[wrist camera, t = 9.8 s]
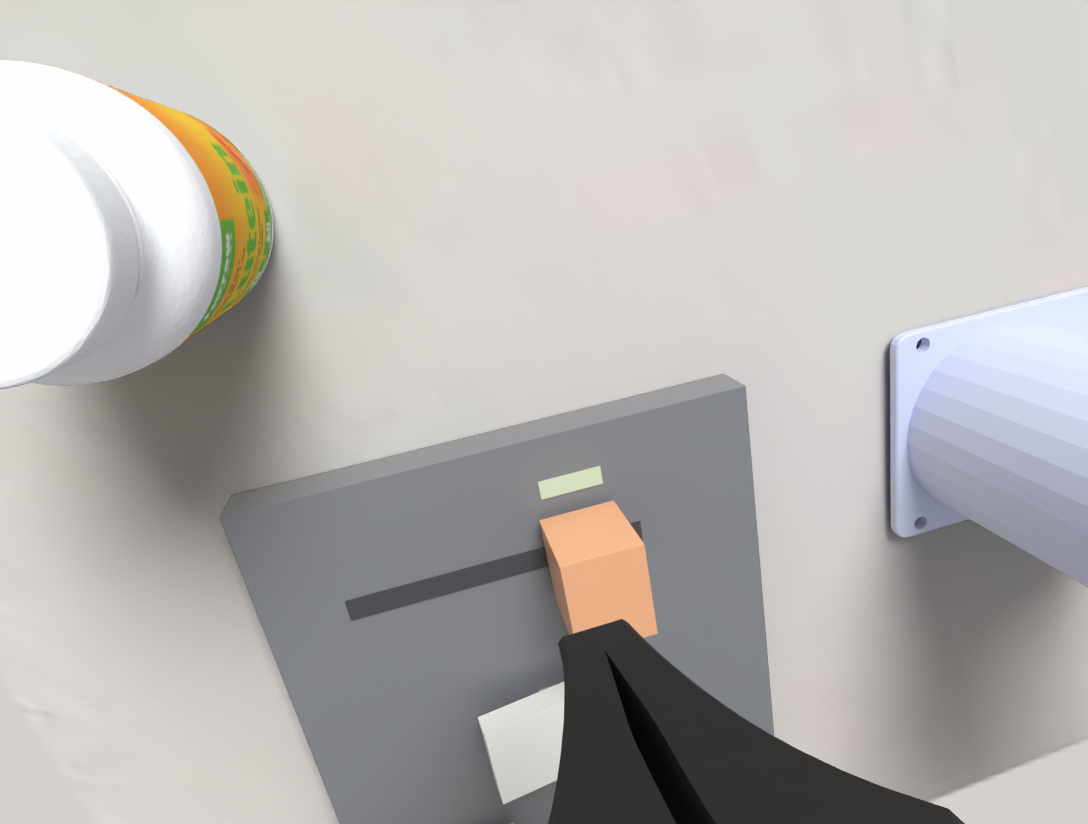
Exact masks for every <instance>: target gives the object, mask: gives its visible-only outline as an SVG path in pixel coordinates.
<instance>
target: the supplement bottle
mask: <svg viewBox="0 0 1088 824" xmlns="http://www.w3.org/2000/svg"><path fill="white" fill-rule="evenodd" d="M273 238H274V223H273V213H272V208H271V203H270V200H269V197H268V193H267V191H266V189H265V186H264V184H263V182H262V180H261V178H260V176H259V174H258V173H257V171H256V169H255V168H254V166H253V165H252V163H251V162H250V161H249V159H248V158H247V157H246V156H245V154H244V153H243V152H242V151H241V150H240V149H239V148H238V147H237V146H236V145H235V144H234V143H233V142H232V141H231V140H230V139H229V138H227V137H226V136H225V135H223V134H222V133H221V132H219V131H218V130H216V129H215V128H213V127H212V126H210V125H208V124H207V123H205V122H203V121H201V120H199V119H197V118H195V117H193V116H191V115H188V114H186V113H183V112H180V111H178V110H175V109H172V108H169V107H166V106H164V105H161V104H158V103H155V102H153V101H150V100H147V99H144V98H141V97H139V96H136V95H133V94H131V93H128V92H125V91H123V90H120V89H117V88H114V87H112V86H110V85H107V84H104V83H102V82H99V81H96V80H93V79H91V78H88V77H85V76H82V75H79V74H76V73H72V72H69V71H66V70H63V69H59V68H56V67H51V66H46V65H41V64H34V63H28V62H21V61H0V389H7V388H11V387H16V386H20V385H24V384H28V383H37V384H46V385H83V384H92V383H98V382H104V381H108V380H112V379H116V378H119V377H122V376H125V375H128V374H130V373H133V372H135V371H138V370H140V369H142V368H144V367H146V366H148V365H150V364H152V363H154V362H156V361H158V360H160V359H161V358H163V357H164V356H166V355H168V354H169V353H170V352H172V351H173V350H175V349H176V348H177V347H179V346H180V345H181V344H183V343H184V342H185V341H187V340H188V339H189V338H191V337H192V336H193V335H195V334H196V333H197V332H199V331H200V330H201V329H203V328H204V327H205V326H207V325H208V324H210V323H211V322H212V321H214V320H215V319H216V318H218V317H219V316H220V315H222V314H223V313H225V312H226V311H228V310H229V309H231V308H232V307H233V306H235V305H236V304H237V303H239V302H240V301H241V300H242V299H243V298H244V297H245V296H246V295H247V294H248V293H249V292H250V291H251V290H252V289H253V288H254V286H255V285H256V284H257V282H258V281H259V279H260V278H261V276H262V274H263V272H264V270H265V268H266V266H267V263H268V261H269V258H270V254H271V250H272V245H273Z"/></svg>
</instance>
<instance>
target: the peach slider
mask: <svg viewBox="0 0 1088 824" xmlns="http://www.w3.org/2000/svg"><path fill="white" fill-rule="evenodd" d="M539 522H540V527H541V532H542V536H543V541H544V546H545V551H546V556H547V560H548V565H549V570H550V575H551V580H552V584H553V589H554V594H555V599H556V603H557V605H558V608H559V610H560V613H561V615H562V618H563V620H564V623H565V625H566V628H567V630H568V633H569V635H570V634H574V633H577V632H580V631H584V630H587V629H590V628H594V627H597V626H600V625H603V624H607V623H610V622H613V621H617V620H620V619H623V620H625V621H626V622H628V623H629V624H630V625H631V626H632V627H633V628H634V629H635V630H636V631H637V632H638V633H639V634H640V635H641V636H642V637H643V638H644V637H648V636H651V635H654V634H658V632H657V625H656V618H655V611H654V605H653V598H652V591H651V585H650V578H649V571H648V565H647V558H646V551H645V544H644V543H643V541H642V540H641V539H640V537H639V536H638V534H637V533H636V531H635V530H634V529H633V527H632V526H631V524H630V523H629V522H628V520H627V519H626V517H625V516H624V514H623V513H622V512H621V510H620V509H619V507H618V506H617V505H616V503H615V502H614V500H613V501H609V502H606V503H602V504H598V505H594V506H591V507H587V508H583V509H580V510H576V511H572V512H568V513H565V514H561V515H557V516H553V517H550V518H546V519H542V520H539Z"/></svg>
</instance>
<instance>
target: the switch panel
mask: <svg viewBox="0 0 1088 824" xmlns="http://www.w3.org/2000/svg"><path fill="white" fill-rule="evenodd" d="M613 500H614V502H615V503H616V505H617V506H618V507H619V509H620V510H621V512H622V513H623V514H624V516H625V517H626V519H627V520H628V522H629V523H630V524H631V526H632V527H633V529H634V530H635V531H636V533H637V534H638V536H639V537H640V539H641V540H642V541H643V543H644V544H645V551H646V558H647V565H648V571H649V578H650V585H651V591H652V598H653V605H654V611H655V618H656V625H657V632H658V634H654V635H651V636H648V637H644V639H645V640H646V641H647V642H648V643H649V644H650V645H651V646H652V647H653V648H654V649H655V650H657V651H658V652H659V653H660V654H661V655H662V656H663V657H664V658H665V659H667V660H668V661H669V662H670V663H671V664H672V665H673V666H675V667H676V668H677V669H678V670H680V671H681V672H682V673H683V674H685V675H686V676H687V677H688V678H689V679H691V680H692V681H693V682H694V683H696V684H697V685H698V686H700V687H701V688H702V689H703V690H705V691H706V692H707V693H709V694H710V695H711V696H713V697H714V698H716V699H717V700H718V701H720V702H721V703H723V704H724V705H725V706H727V707H728V708H730V709H731V710H733V711H734V712H736V713H737V714H739V715H740V716H742V717H743V718H745V719H746V720H748V721H749V722H751V723H753V724H754V725H756V726H758V727H759V728H761V729H763V730H764V731H766V732H768V733H769V734H771V735H773V736H774V728H773V716H772V703H771V691H770V679H769V667H768V655H767V643H766V631H765V619H764V606H763V594H762V582H761V570H760V558H759V546H758V534H757V521H756V509H755V497H754V485H753V473H752V461H751V449H750V437H749V424H748V412H747V400H746V388H745V386H744V385H743V384H741V383H739V382H737V381H735V380H734V379H732V378H730V377H728V376H727V375H725V374H721V375H717V376H713V377H709V378H705V379H701V380H697V381H693V382H689V383H685V384H681V385H677V386H673V387H669V388H665V389H660V390H656V391H652V392H648V393H644V394H640V395H636V396H632V397H628V398H624V399H620V400H616V401H612V402H608V403H604V404H600V405H596V406H592V407H588V408H584V409H580V410H575V411H571V412H567V413H563V414H559V415H555V416H551V417H547V418H543V419H539V420H535V421H531V422H527V423H523V424H519V425H515V426H511V427H507V428H503V429H499V430H494V431H490V432H486V433H482V434H478V435H474V436H470V437H466V438H462V439H458V440H454V441H450V442H446V443H442V444H438V445H434V446H430V447H426V448H422V449H418V450H414V451H409V452H405V453H401V454H397V455H393V456H389V457H385V458H381V459H377V460H373V461H369V462H365V463H361V464H357V465H353V466H349V467H345V468H341V469H337V470H333V471H328V472H324V473H320V474H316V475H312V476H308V477H304V478H300V479H296V480H292V481H288V482H284V483H280V484H276V485H272V486H268V487H264V488H260V489H256V490H252V491H248V492H243V493H239V494H235V495H231V497H230V499H229V501H228V503H227V505H226V507H225V509H224V510H223V512H222V514H221V516H220V520H221V523H222V525H223V528H224V531H225V533H226V536H227V538H228V541H229V543H230V546H231V548H232V551H233V553H234V556H235V559H236V561H237V564H238V566H239V569H240V571H241V574H242V576H243V579H244V581H245V584H246V586H247V589H248V592H249V594H250V597H251V599H252V602H253V604H254V607H255V609H256V612H257V614H258V617H259V620H260V622H261V625H262V627H263V630H264V632H265V635H266V637H267V640H268V642H269V645H270V648H271V650H272V653H273V655H274V658H275V660H276V663H277V665H278V668H279V670H280V673H281V676H282V678H283V681H284V683H285V686H286V688H287V691H288V693H289V696H290V698H291V701H292V704H293V706H294V709H295V711H296V714H297V716H298V719H299V721H300V724H301V726H302V729H303V732H304V734H305V737H306V739H307V742H308V744H309V747H310V749H311V752H312V754H313V757H314V760H315V762H316V765H317V767H318V770H319V772H320V775H321V777H322V780H323V782H324V785H325V788H326V790H327V793H328V795H329V798H330V800H331V803H332V805H333V808H334V810H335V813H336V816H337V818H338V821H339V823H340V824H508V823H511V822H514V821H515V824H548V822H549V817H550V813H551V809H552V804H553V799H554V793H555V788H556V783H557V780H556V781H554V782H552V783H550V784H547V785H545V786H543V787H541V788H539V789H536V790H534V791H532V792H530V793H528V794H526V795H523V796H521V797H519V798H517V799H515V800H512V801H510V802H508V803H506V804H504V805H503V803H502V800H501V797H500V794H499V791H498V789H497V786H496V782H495V779H494V775H493V771H492V768H491V764H490V760H489V757H488V753H487V750H486V746H485V742H484V739H483V735H482V731H481V728H480V724H479V721H478V717H480V716H482V715H484V714H487V713H489V712H492V711H494V710H496V709H499V708H501V707H504V706H506V705H509V704H511V703H513V702H516V701H518V700H521V699H523V698H525V697H528V696H530V695H533V694H535V693H537V692H540V691H542V690H545V689H547V688H549V687H552V686H554V685H557V684H559V683H562V682H564V671H563V664H562V659H561V655H560V651H559V647H558V642H559V641H560V640H561V638H562V637H564V636H567V635H569V633H568V630H567V628H566V625H565V623H564V620H563V618H562V615H561V613H560V610H559V608H558V605H557V603H556V599H555V594H554V589H553V584H552V580H551V575H550V570H549V565H548V560H547V556H546V551H545V546H544V541H543V536H542V532H541V527H540V522H539V520H542V519H546V518H550V517H553V516H557V515H561V514H565V513H568V512H572V511H576V510H580V509H583V508H587V507H591V506H594V505H598V504H602V503H606V502H609V501H613Z"/></svg>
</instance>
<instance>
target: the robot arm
mask: <svg viewBox="0 0 1088 824" xmlns="http://www.w3.org/2000/svg"><path fill="white" fill-rule="evenodd" d="M920 339H921V340H922V342H921V345H920V347H919V348H918V349H917V348H916V345H917V342H918V341H919V340H920ZM890 457H891V529H892V531H893V532H894V533H896V534H897V535H898V536H900V537H903V538H906V537H911V536H914V535H918V534H921V533H924V532H928V531H931V530H935V529H938V528H941V527H945V526H948V525H952V524H955V523H958V522H962V521H965V520H969V519H970V520H972V521H974V522H975V523H977V524H979V525H981V526H982V527H984V528H986V529H987V530H989V531H991V532H993V533H994V534H996V535H998V536H1000V537H1001V538H1003V539H1005V540H1007V541H1008V542H1010V543H1012V544H1013V545H1015V546H1017V547H1019V548H1020V549H1022V550H1024V551H1026V552H1027V553H1029V554H1031V555H1033V556H1034V557H1036V558H1038V559H1040V560H1041V561H1043V562H1045V563H1046V564H1048V565H1050V566H1052V567H1053V568H1055V569H1057V570H1059V571H1060V572H1062V573H1064V574H1066V575H1067V576H1069V577H1071V578H1073V579H1074V580H1076V581H1078V582H1079V583H1081V584H1083V585H1085V586H1086V587H1088V287H1084V288H1080V289H1076V290H1072V291H1068V292H1064V293H1060V294H1056V295H1052V296H1047V297H1043V298H1039V299H1035V300H1031V301H1027V302H1023V303H1019V304H1015V305H1011V306H1007V307H1003V308H999V309H995V310H991V311H987V312H983V313H979V314H975V315H971V316H967V317H963V318H959V319H955V320H951V321H946V322H942V323H938V324H934V325H930V326H926V327H922V328H918V329H914V330H910V331H906V332H903V333H900V334H898V335H897V336H896V337H895V338H894V339H893V341H892V343H891V347H890ZM918 518H919V520H918V521H917V523H915V521H916V520H917V519H918ZM558 647H559V651H560V655H561V659H562V664H563V671H564V724H563V735H562V745H561V755H560V763H559V770H558V776H557V783H556V788H555V793H554V799H553V804H552V809H551V813H550V817H549V822H548V824H964V823H963V822H962V821H961V820H960V819H959V818H958V817H957V816H956V815H955V814H954V813H952V812H951V811H950V810H949V809H947V808H944V807H941V806H938V805H935V804H932V803H929V802H926V801H923V800H920V799H917V798H914V797H911V796H908V795H905V794H902V793H899V792H896V791H893V790H890V789H887V788H884V787H882V786H879V785H876V784H874V783H871V782H869V781H866V780H864V779H862V778H859V777H857V776H854V775H852V774H849V773H847V772H844V771H842V770H840V769H838V768H836V767H834V766H831V765H829V764H827V763H825V762H823V761H821V760H819V759H817V758H815V757H813V756H811V755H808V754H806V753H804V752H802V751H800V750H798V749H796V748H794V747H792V746H791V745H789V744H787V743H785V742H783V741H782V740H780V739H778V738H776V737H774V736H773V735H771V734H769V733H768V732H766V731H764V730H763V729H761V728H759V727H758V726H756V725H754V724H753V723H751V722H749V721H748V720H746V719H745V718H743V717H742V716H740V715H739V714H737V713H736V712H734V711H733V710H731V709H730V708H728V707H727V706H725V705H724V704H723V703H721V702H720V701H718V700H717V699H716V698H714V697H713V696H711V695H710V694H709V693H707V692H706V691H705V690H703V689H702V688H701V687H700V686H698V685H697V684H696V683H694V682H693V681H692V680H691V679H689V678H688V677H687V676H686V675H685V674H683V673H682V672H681V671H680V670H678V669H677V668H676V667H675V666H673V665H672V664H671V663H670V662H669V661H668V660H667V659H665V658H664V657H663V656H662V655H661V654H660V653H659V652H658V651H657V650H655V649H654V648H653V647H652V646H651V645H650V644H649V643H648V642H647V641H646V640H645V639H644V638H643V637H642V636H641V635H640V634H639V633H638V632H637V631H636V630H635V629H634V628H633V627H632V626H631V625H630V624H629V623H628V622H626V621H625V620H623V619H620V620H617V621H613V622H610V623H607V624H603V625H600V626H597V627H594V628H590V629H587V630H584V631H580V632H577V633H574V634H570V635H567V636H564V637H562V638H561V640H560V641H559V642H558Z"/></svg>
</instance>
